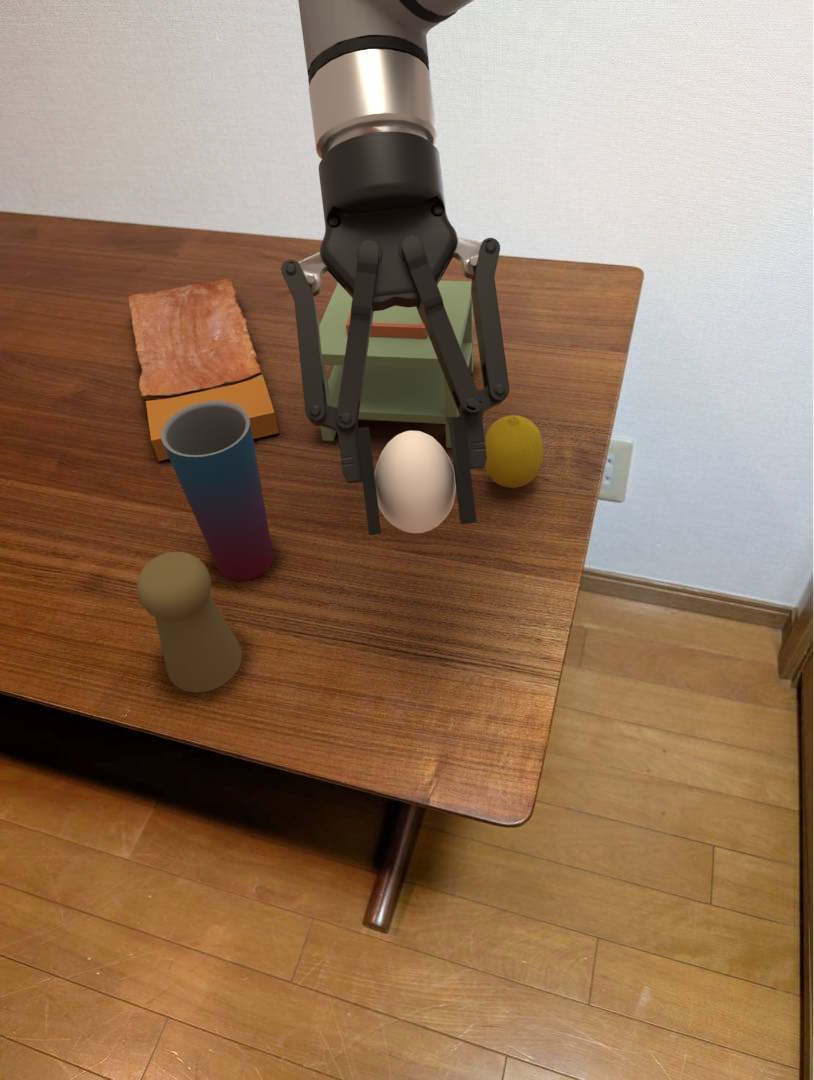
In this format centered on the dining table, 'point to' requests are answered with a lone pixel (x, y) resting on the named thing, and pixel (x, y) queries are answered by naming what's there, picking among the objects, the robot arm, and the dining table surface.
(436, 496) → the egg
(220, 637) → the cork
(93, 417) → the dining table surface
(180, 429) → the cup
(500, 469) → the lemon
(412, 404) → the green side table
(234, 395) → the salmon fillet board
